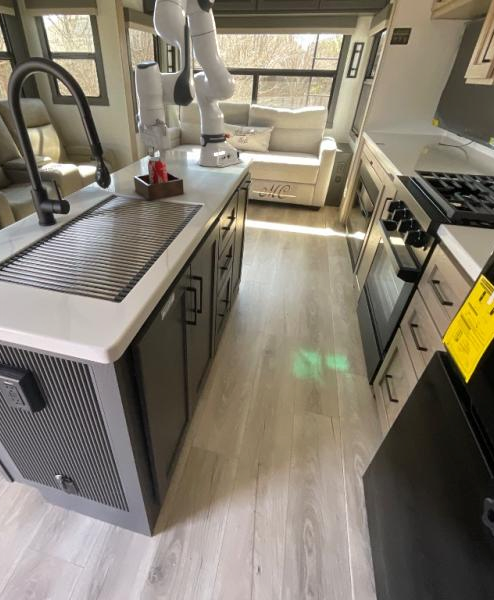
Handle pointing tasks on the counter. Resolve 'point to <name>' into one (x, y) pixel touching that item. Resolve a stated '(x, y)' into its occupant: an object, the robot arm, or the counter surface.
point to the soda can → (157, 171)
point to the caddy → (158, 187)
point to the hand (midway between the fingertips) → (157, 159)
